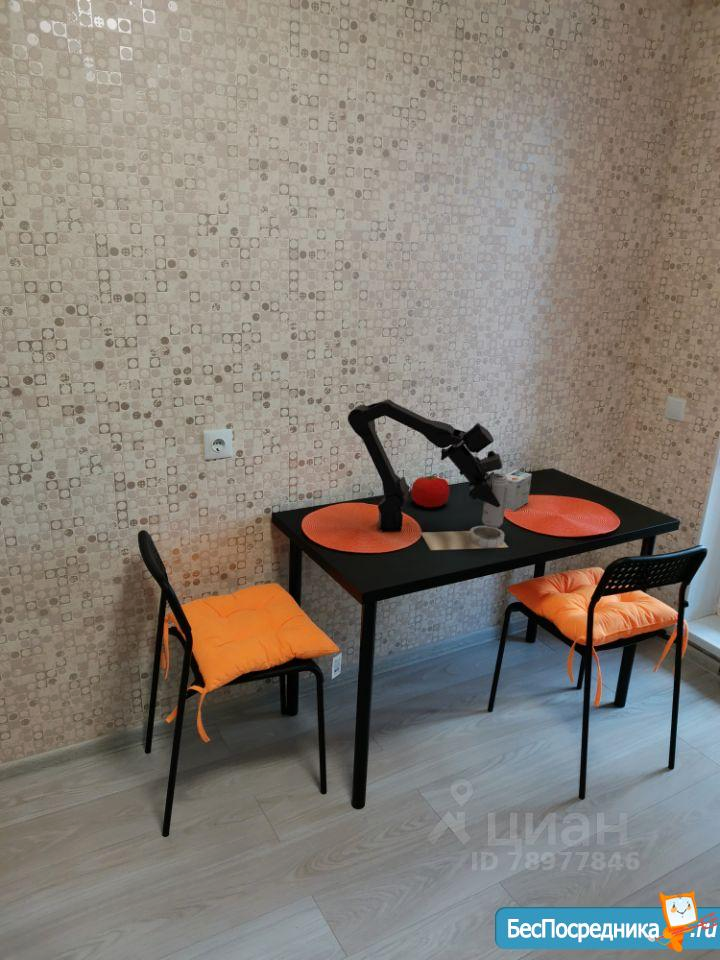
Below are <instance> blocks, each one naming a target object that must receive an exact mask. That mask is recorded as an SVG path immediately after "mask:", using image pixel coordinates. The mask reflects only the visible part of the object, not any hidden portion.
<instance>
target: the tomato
mask: <svg viewBox="0 0 720 960" xmlns="http://www.w3.org/2000/svg"><path fill="white" fill-rule="evenodd" d="M410 489H411V491H410V493H411V497H412V499H413V501H414V503H416V505H417V506H421V507H424V508H436V507H437V508H438V507H441V506H443V505H445V503H446V502H448V499H449V497H450V493H451V492H450V484H449V482H448V481H447V480H446V479H444V478H441V477H438V476H435V474H432V475H428V476H427V475H426V476H420V477H417V478H416V479H415V480H414V482H412V485H411V488H410Z"/></svg>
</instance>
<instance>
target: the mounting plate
mask: <svg viewBox="0 0 720 960" xmlns="http://www.w3.org/2000/svg"><path fill="white" fill-rule="evenodd" d="M469 532H470V530H460V531H459V530H458V531H457V530H456V531H435V532H434V531H432V532H431V531H429V532H427V531H426V532H420V535H421V536H422V537H423V539H424V541H425V542H426V544H427V546H428V548H429V550H431V551H442V550H443V551H444V550H446V551H447V550H469V549H470V550H472V549H473V550H474V549H487V548H486V547H480V546H477V545H475V544H473V543H471V542H470V540H469ZM477 536H480V537H483V538H496V537H493V536H489V535H477ZM497 548H499V549H500V548H509V546H508V545H507V543H506V542H505V541H504V542H503V544H502V545H501V546H499V547H495V548H494V549H497Z"/></svg>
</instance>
